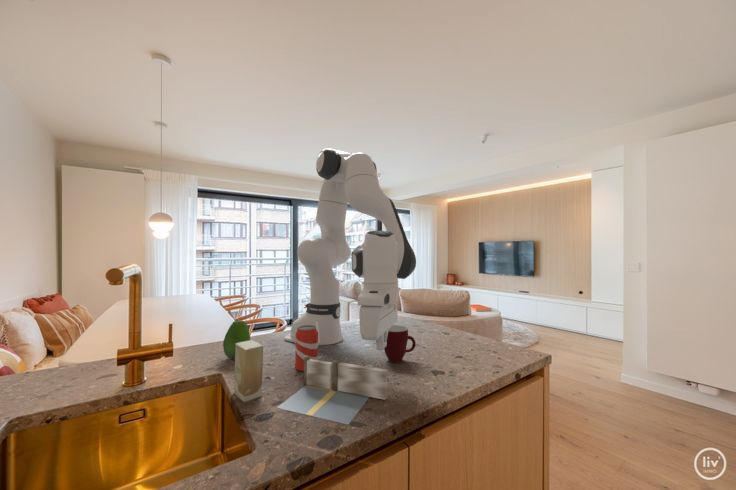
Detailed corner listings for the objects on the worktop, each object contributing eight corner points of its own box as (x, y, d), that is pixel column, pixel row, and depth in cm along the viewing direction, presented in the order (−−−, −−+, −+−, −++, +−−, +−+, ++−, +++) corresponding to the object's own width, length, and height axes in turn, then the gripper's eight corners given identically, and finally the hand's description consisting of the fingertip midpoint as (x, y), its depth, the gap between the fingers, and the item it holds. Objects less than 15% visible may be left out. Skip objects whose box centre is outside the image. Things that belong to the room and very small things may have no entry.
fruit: (219, 357, 95) (220, 319, 95) (244, 352, 100) (245, 316, 101) (227, 365, 89) (227, 324, 89) (253, 359, 94) (254, 320, 95)
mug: (409, 354, 100) (410, 324, 100) (419, 363, 92) (419, 330, 92) (379, 356, 98) (379, 325, 98) (386, 366, 90) (386, 332, 90)
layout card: (276, 409, 65) (276, 407, 65) (312, 381, 79) (312, 379, 79) (348, 426, 59) (348, 424, 59) (373, 392, 73) (373, 390, 73)
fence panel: (337, 390, 72) (337, 364, 72) (339, 388, 73) (340, 362, 74) (385, 399, 68) (385, 371, 68) (386, 397, 69) (387, 369, 69)
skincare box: (233, 394, 71) (234, 342, 72) (251, 388, 74) (252, 339, 75) (244, 404, 67) (245, 349, 67) (263, 397, 70) (263, 345, 70)
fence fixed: (302, 385, 76) (303, 357, 76) (305, 383, 77) (306, 355, 77) (336, 391, 72) (336, 362, 72) (338, 389, 74) (339, 360, 74)
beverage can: (318, 372, 85) (318, 329, 85) (294, 374, 83) (295, 330, 84) (317, 364, 91) (317, 324, 91) (295, 365, 89) (296, 325, 89)
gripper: (381, 288, 87) (381, 336, 87) (354, 299, 68) (355, 360, 68) (402, 289, 85) (403, 338, 85) (381, 300, 66) (381, 363, 65)
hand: (381, 348), depth 76 cm, fingers closed
